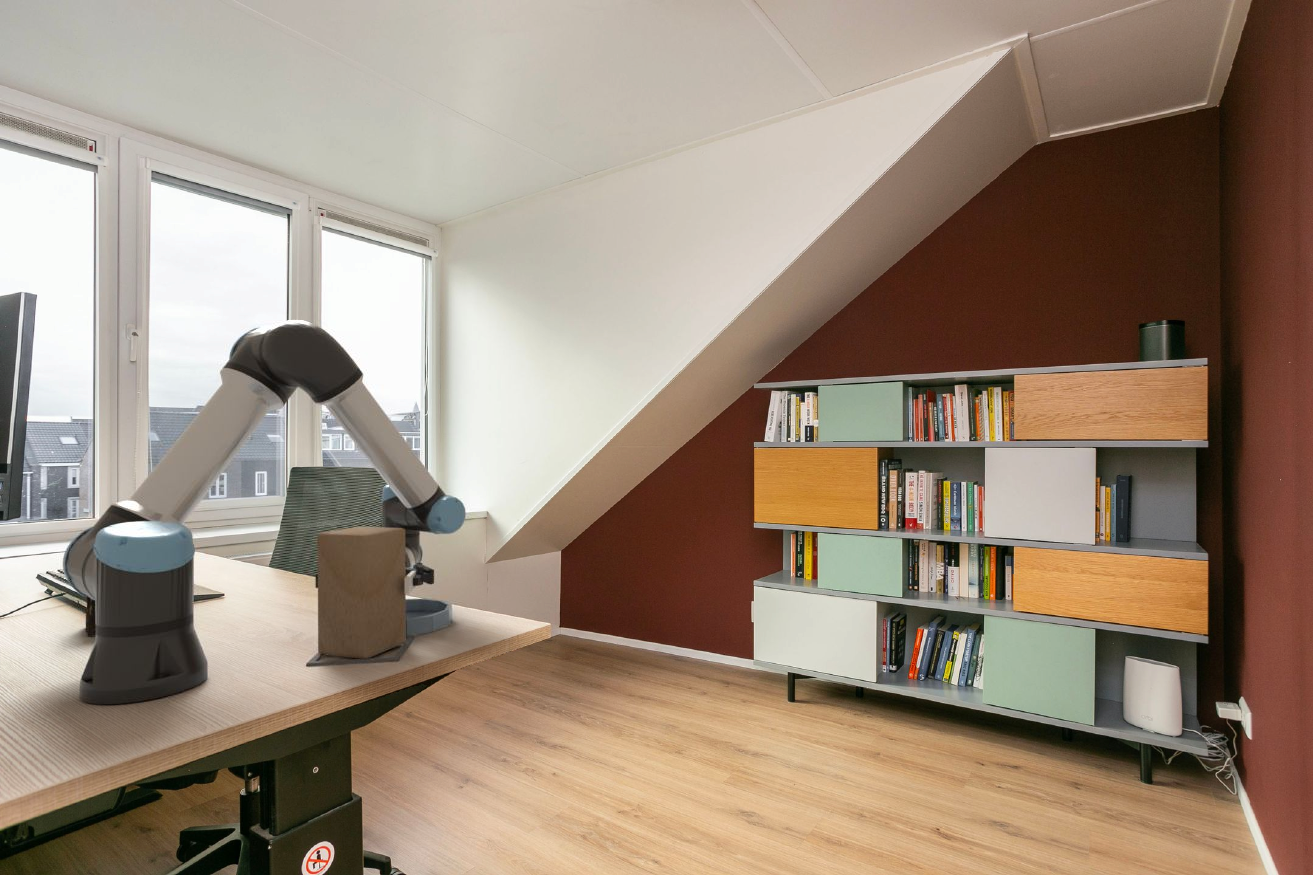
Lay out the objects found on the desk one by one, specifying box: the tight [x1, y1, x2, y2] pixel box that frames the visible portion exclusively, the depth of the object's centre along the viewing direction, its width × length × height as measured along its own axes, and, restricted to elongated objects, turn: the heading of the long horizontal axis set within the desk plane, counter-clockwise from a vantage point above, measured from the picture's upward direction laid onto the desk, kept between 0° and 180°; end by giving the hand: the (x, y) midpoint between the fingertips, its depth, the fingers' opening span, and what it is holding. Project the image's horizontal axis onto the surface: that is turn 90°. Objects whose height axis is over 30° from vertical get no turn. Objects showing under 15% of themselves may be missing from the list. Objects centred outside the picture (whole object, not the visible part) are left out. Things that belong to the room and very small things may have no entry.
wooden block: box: [317, 526, 407, 659], centre depth 121 cm, size 10×10×20 cm
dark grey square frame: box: [305, 635, 416, 667], centre depth 121 cm, size 14×14×1 cm
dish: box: [406, 598, 453, 636], centre depth 138 cm, size 18×18×3 cm
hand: (364, 587), depth 120 cm, fingers open, 13 cm apart
